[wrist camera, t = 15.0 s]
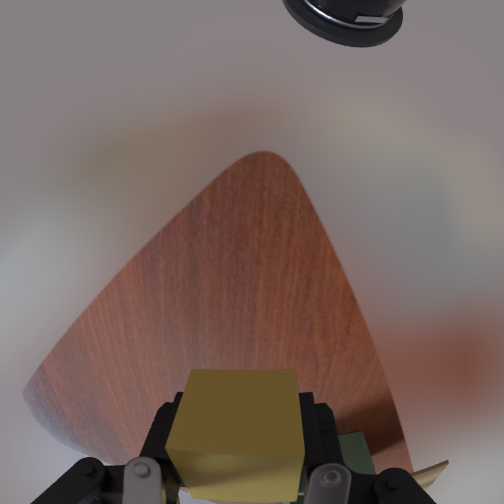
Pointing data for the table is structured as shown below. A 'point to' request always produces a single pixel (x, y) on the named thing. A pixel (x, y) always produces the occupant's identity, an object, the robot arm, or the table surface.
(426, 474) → the slide door
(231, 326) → the table surface
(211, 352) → the table surface
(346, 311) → the table surface
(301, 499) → the case
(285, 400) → the block
